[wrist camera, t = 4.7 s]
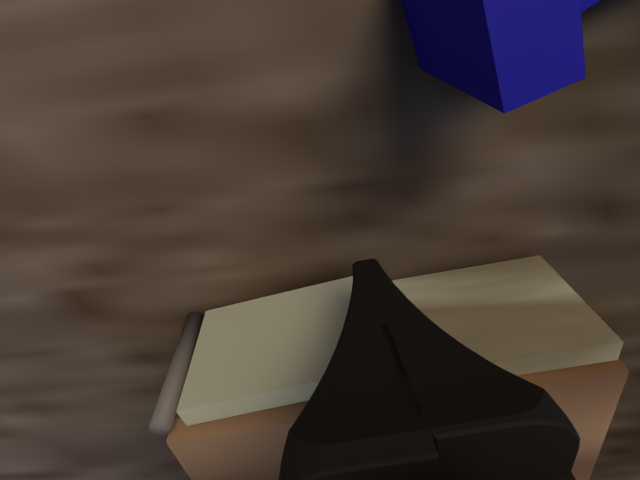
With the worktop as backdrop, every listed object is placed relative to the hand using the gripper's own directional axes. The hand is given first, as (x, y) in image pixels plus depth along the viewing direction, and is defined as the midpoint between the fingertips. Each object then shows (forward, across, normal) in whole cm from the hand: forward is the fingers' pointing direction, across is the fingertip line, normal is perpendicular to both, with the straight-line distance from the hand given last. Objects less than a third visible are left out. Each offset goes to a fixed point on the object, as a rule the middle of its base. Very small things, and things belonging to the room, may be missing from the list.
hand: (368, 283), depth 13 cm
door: (+3, +4, +2) cm, 5 cm away
